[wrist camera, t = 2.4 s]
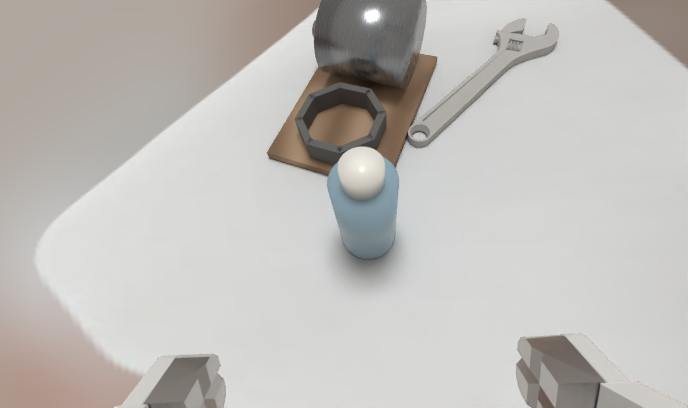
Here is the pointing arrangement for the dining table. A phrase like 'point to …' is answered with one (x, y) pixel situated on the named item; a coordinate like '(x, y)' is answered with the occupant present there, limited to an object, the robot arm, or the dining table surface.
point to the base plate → (354, 118)
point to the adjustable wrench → (484, 77)
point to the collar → (330, 99)
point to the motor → (370, 39)
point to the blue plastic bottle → (365, 201)
